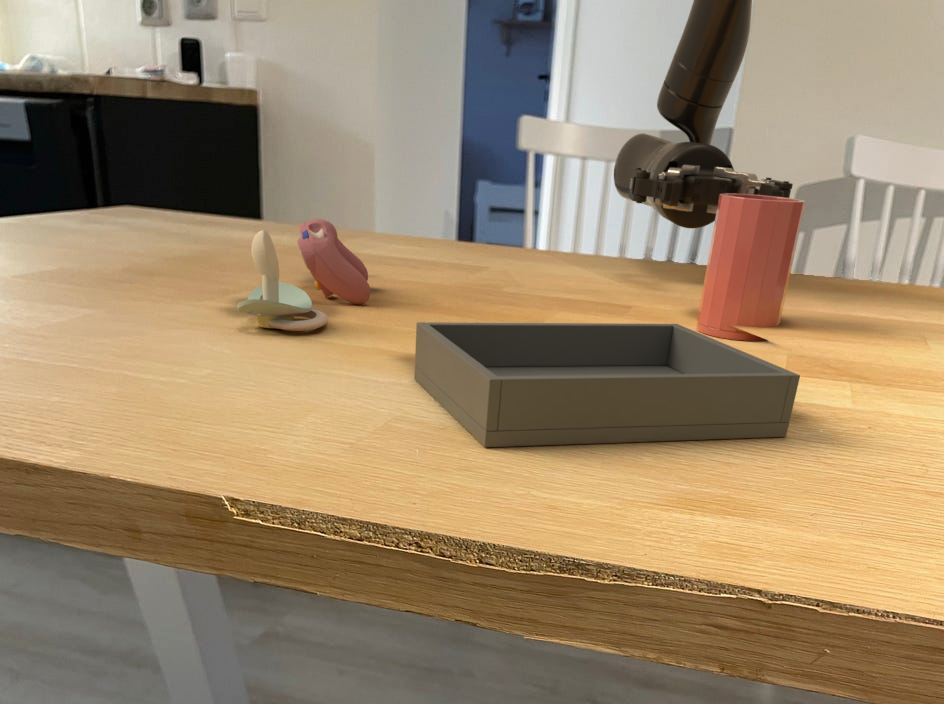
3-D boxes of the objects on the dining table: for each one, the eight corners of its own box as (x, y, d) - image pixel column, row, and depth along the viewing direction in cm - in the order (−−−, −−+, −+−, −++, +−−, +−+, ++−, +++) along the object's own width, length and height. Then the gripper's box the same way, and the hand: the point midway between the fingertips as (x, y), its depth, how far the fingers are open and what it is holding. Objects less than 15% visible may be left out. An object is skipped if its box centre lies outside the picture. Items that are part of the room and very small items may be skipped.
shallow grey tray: (668, 375, 62) (677, 323, 60) (786, 436, 51) (800, 375, 49) (414, 379, 57) (416, 322, 55) (484, 447, 46) (489, 379, 44)
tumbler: (747, 325, 80) (774, 195, 76) (791, 341, 75) (822, 203, 70) (682, 324, 78) (704, 191, 74) (722, 341, 73) (749, 199, 68)
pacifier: (333, 320, 71) (253, 312, 71) (335, 230, 68) (252, 222, 68) (320, 341, 65) (232, 332, 65) (322, 243, 62) (229, 233, 62)
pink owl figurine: (326, 302, 85) (288, 224, 82) (372, 280, 85) (336, 201, 81) (324, 324, 77) (282, 238, 73) (375, 300, 76) (335, 213, 73)
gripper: (623, 136, 94) (650, 141, 80) (765, 147, 94) (817, 154, 80) (612, 218, 98) (636, 237, 84) (749, 229, 98) (796, 249, 84)
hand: (725, 196), depth 82 cm, fingers open, 8 cm apart
